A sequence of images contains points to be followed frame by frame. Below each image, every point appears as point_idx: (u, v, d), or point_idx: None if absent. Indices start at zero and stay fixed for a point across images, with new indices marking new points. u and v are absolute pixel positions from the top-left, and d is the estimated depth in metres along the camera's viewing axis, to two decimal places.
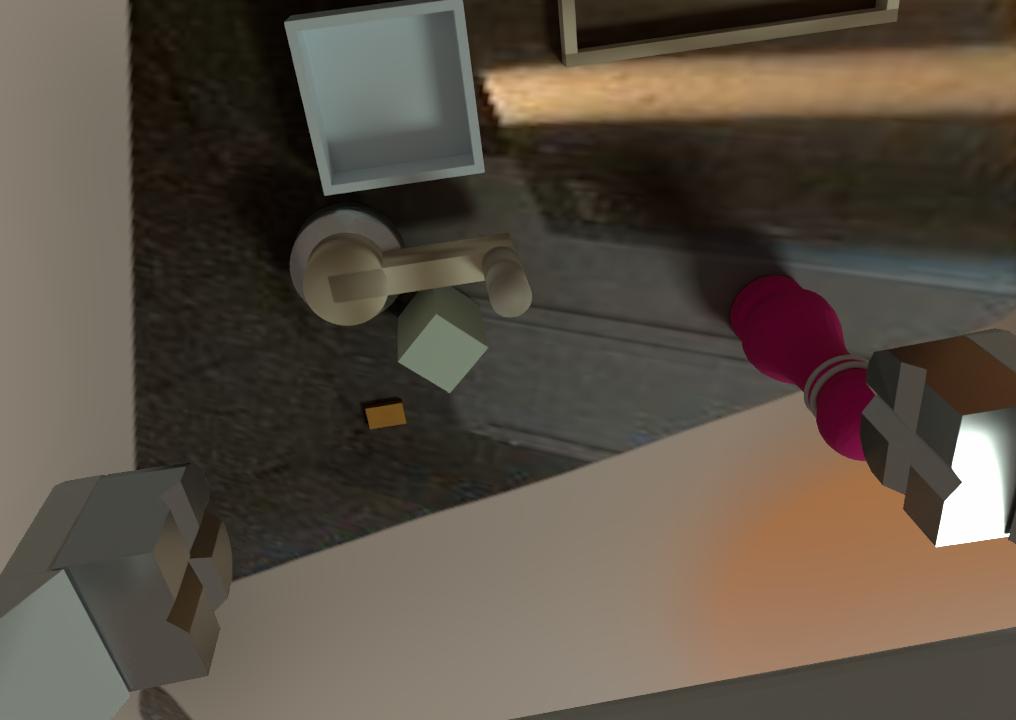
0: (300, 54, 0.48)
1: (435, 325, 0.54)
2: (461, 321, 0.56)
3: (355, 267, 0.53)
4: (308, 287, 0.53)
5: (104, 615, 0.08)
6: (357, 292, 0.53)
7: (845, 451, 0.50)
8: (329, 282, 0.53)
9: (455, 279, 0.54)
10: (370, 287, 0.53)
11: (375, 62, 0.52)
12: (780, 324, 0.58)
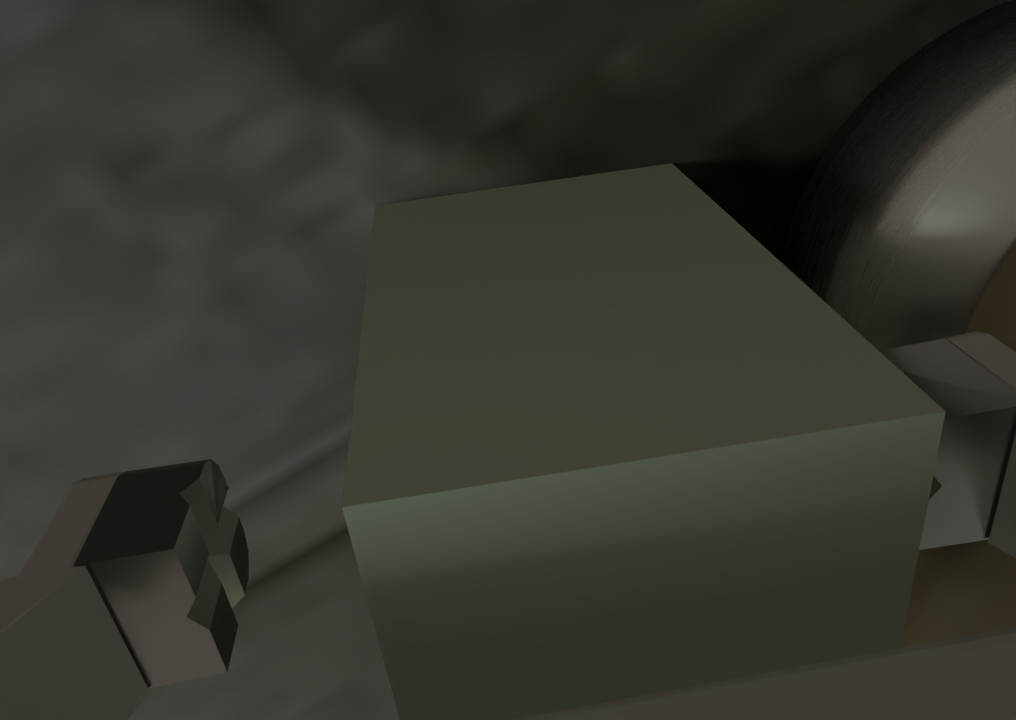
0: None
1: None
2: None
3: None
4: None
5: (125, 612, 0.08)
6: None
7: None
8: None
9: None
10: None
11: None
12: None
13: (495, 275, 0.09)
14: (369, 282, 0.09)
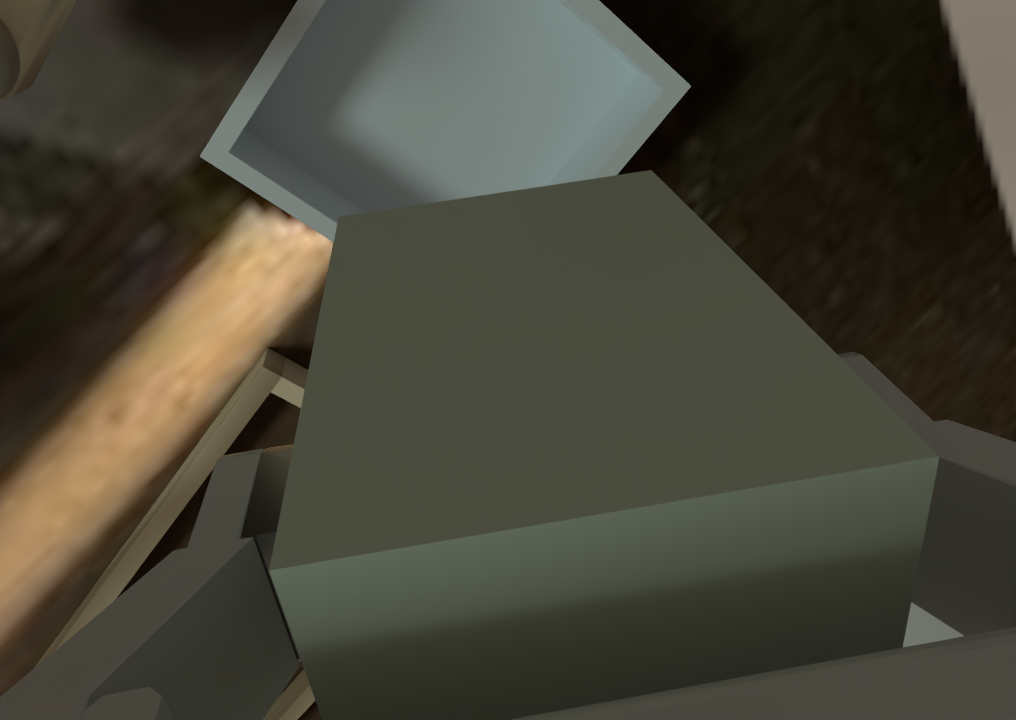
0: (636, 62, 0.24)
1: None
2: None
3: None
4: None
5: None
6: None
7: None
8: None
9: None
10: None
11: (500, 121, 0.27)
12: None
13: (459, 295, 0.08)
14: (324, 303, 0.09)
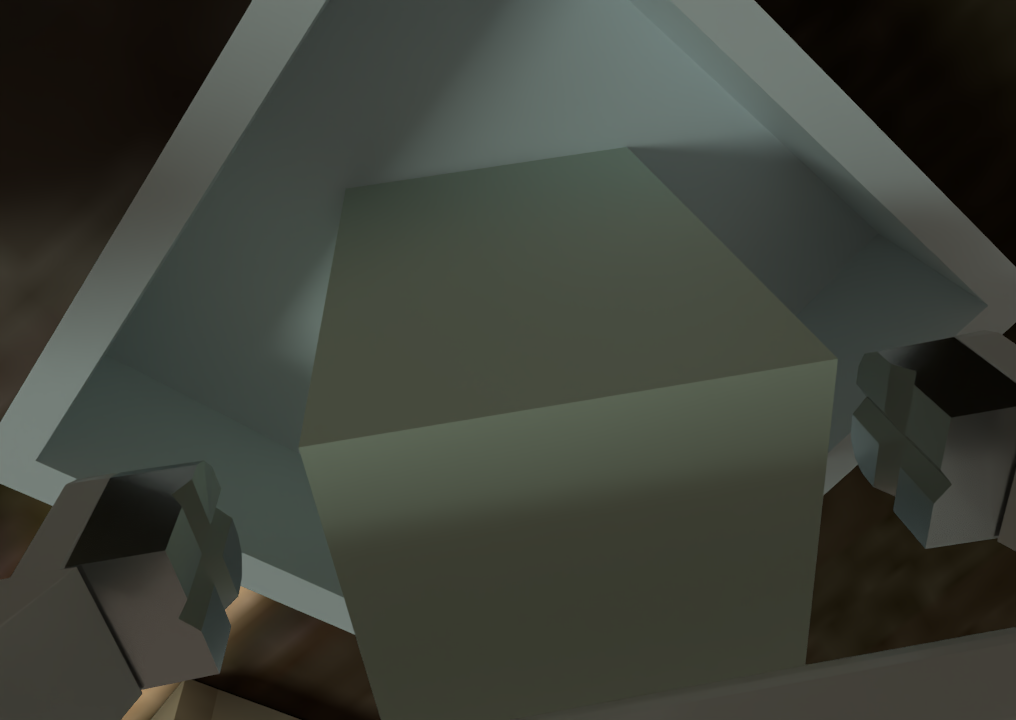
0: (939, 254, 0.11)
1: (761, 670, 0.08)
2: None
3: None
4: None
5: (117, 613, 0.08)
6: None
7: None
8: None
9: None
10: None
11: None
12: None
13: (452, 249, 0.10)
14: (335, 257, 0.10)
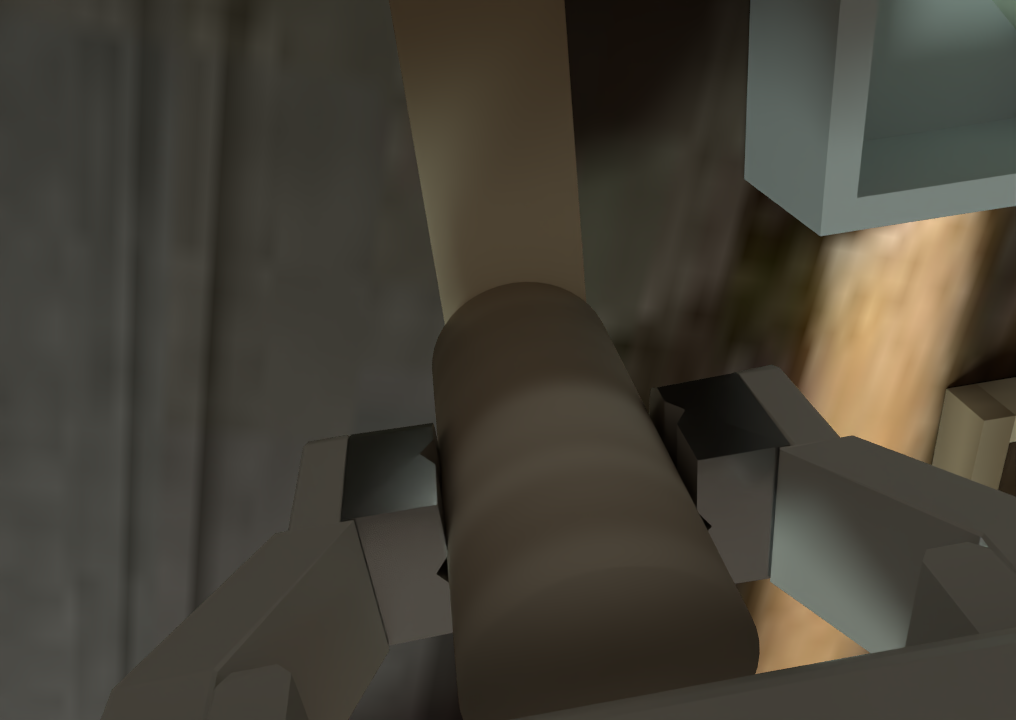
0: None
1: None
2: None
3: None
4: None
5: (381, 567, 0.08)
6: None
7: None
8: None
9: (448, 152, 0.10)
10: None
11: None
12: None
13: None
14: None
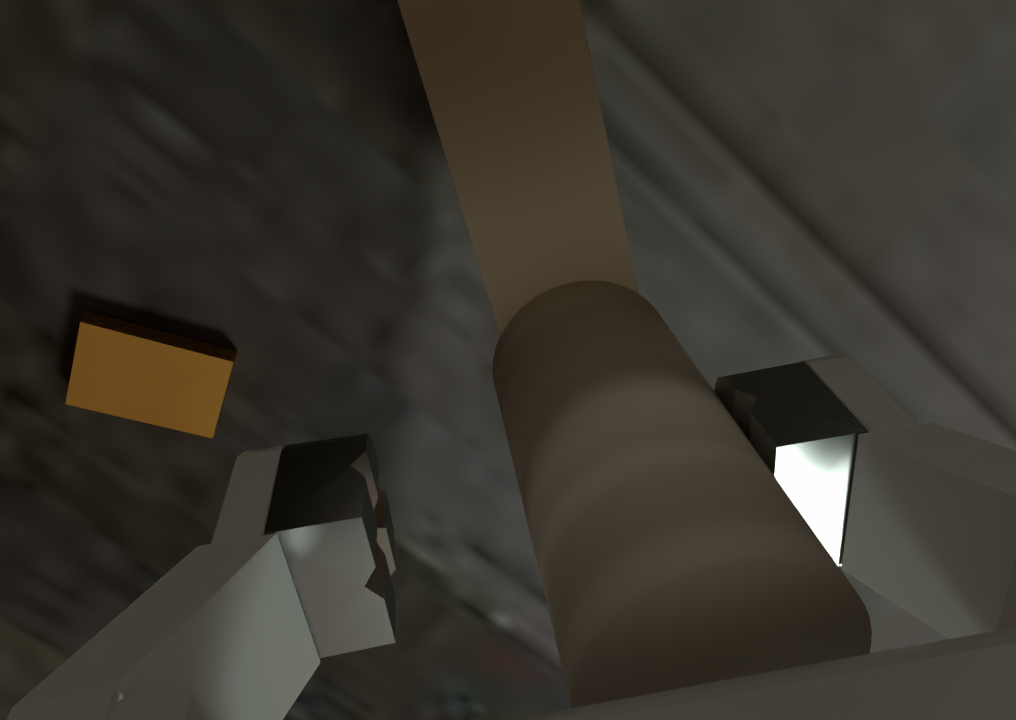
0: None
1: None
2: None
3: None
4: None
5: (307, 580, 0.08)
6: None
7: None
8: None
9: (482, 165, 0.10)
10: None
11: None
12: None
13: None
14: None
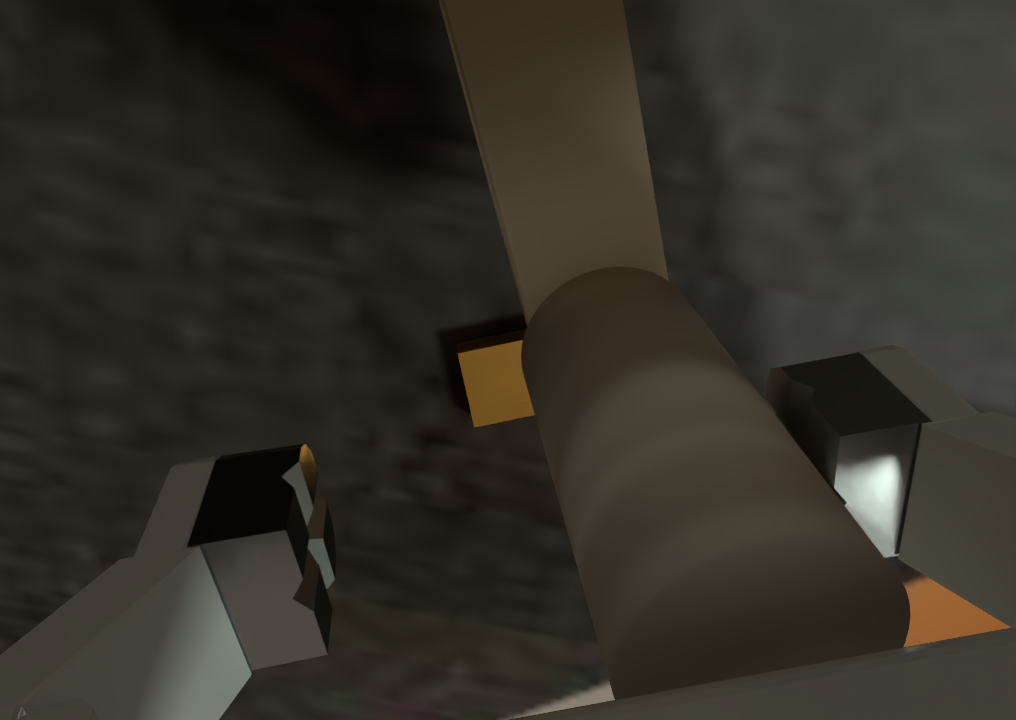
0: None
1: None
2: None
3: None
4: None
5: (233, 593, 0.08)
6: None
7: None
8: None
9: (518, 149, 0.10)
10: None
11: None
12: None
13: None
14: None
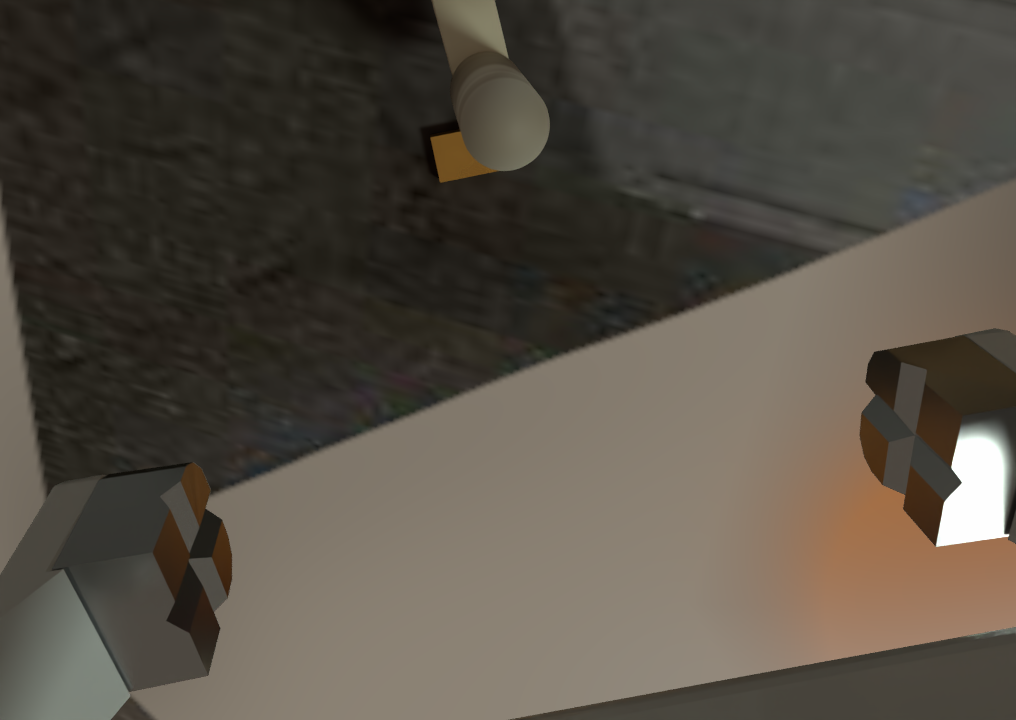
0: None
1: None
2: None
3: None
4: None
5: (104, 615, 0.08)
6: None
7: None
8: None
9: None
10: None
11: None
12: None
13: None
14: None
